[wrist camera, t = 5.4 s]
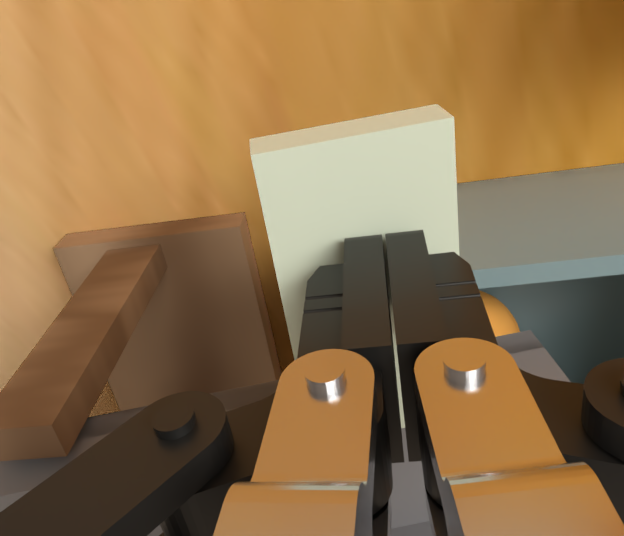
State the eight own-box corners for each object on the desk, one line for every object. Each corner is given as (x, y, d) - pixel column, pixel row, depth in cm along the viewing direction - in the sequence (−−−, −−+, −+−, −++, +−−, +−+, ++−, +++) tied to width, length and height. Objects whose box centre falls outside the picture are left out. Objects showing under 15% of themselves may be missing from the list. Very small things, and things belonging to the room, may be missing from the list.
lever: (3, 602, 19) (-28, 692, 17) (-264, 212, 12) (-377, 272, 10) (525, 495, 19) (564, 568, 17) (538, 63, 13) (604, 88, 10)
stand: (142, 426, 28) (45, 661, 19) (66, 234, 23) (-113, 428, 14) (291, 414, 27) (262, 655, 18) (244, 212, 22) (174, 404, 13)
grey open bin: (389, 408, 26) (416, 723, 16) (363, 195, 21) (378, 449, 11) (633, 389, 25) (836, 718, 15) (665, 157, 20) (1006, 405, 10)
